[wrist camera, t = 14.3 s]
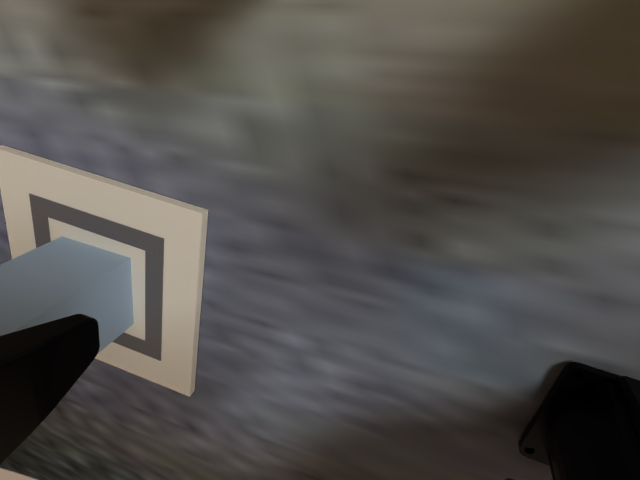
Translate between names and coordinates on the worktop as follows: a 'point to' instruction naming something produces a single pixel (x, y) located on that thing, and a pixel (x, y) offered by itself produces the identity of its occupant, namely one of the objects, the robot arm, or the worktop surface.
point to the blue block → (67, 288)
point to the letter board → (125, 239)
